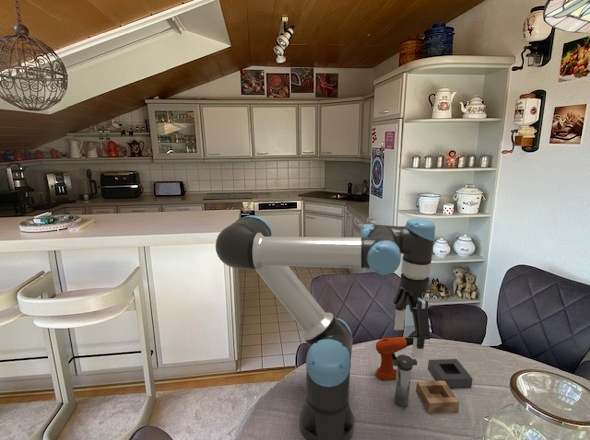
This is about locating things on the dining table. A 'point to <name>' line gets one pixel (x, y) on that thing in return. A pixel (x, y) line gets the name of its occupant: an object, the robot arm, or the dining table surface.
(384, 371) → the toy drill
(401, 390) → the dark grey tall piece
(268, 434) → the dining table surface
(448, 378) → the block
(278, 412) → the dining table surface
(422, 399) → the wooden square frame
